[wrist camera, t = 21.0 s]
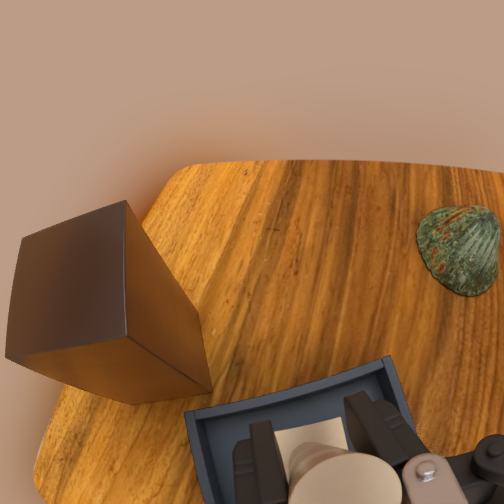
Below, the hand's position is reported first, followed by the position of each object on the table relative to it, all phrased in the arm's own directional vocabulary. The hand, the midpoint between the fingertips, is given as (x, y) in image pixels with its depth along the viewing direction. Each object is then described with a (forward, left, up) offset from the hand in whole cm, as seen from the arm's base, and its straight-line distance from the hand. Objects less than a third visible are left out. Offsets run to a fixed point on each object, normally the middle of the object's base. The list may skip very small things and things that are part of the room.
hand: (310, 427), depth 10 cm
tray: (0, -2, -13) cm, 13 cm away
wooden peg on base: (0, -2, -12) cm, 12 cm away
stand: (-9, +8, -13) cm, 17 cm away
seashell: (+20, +10, -13) cm, 26 cm away
